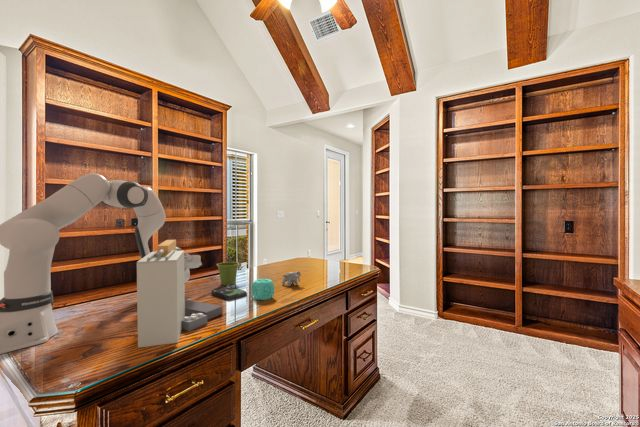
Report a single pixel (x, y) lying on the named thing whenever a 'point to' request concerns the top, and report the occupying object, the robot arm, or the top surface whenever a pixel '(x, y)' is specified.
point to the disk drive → (229, 293)
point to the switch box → (194, 321)
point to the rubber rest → (202, 309)
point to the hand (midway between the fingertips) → (174, 255)
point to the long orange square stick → (166, 247)
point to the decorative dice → (263, 289)
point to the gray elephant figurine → (291, 278)
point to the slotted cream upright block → (160, 298)
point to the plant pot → (228, 272)
